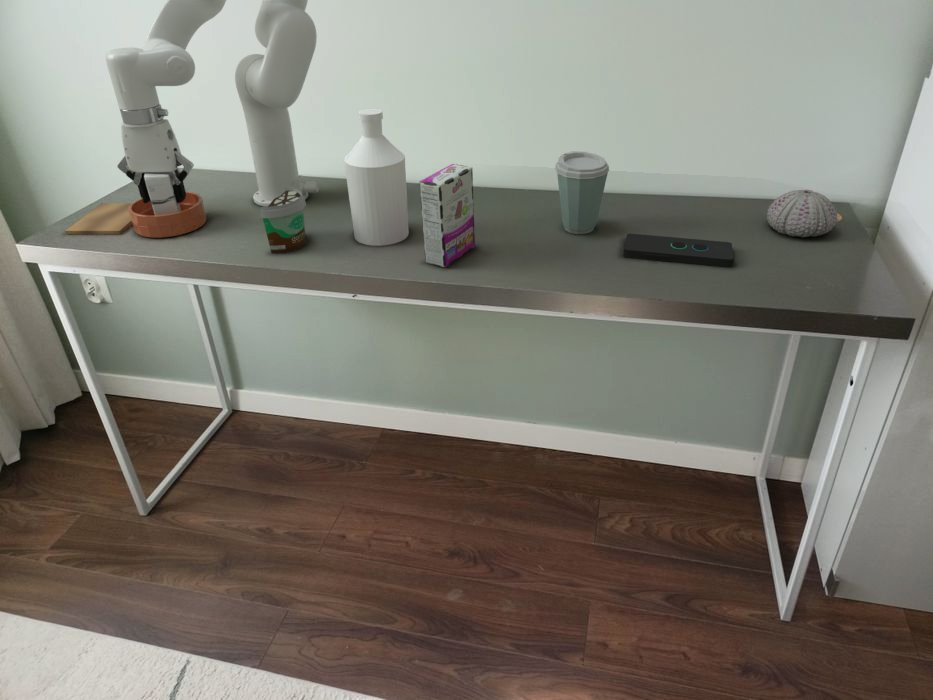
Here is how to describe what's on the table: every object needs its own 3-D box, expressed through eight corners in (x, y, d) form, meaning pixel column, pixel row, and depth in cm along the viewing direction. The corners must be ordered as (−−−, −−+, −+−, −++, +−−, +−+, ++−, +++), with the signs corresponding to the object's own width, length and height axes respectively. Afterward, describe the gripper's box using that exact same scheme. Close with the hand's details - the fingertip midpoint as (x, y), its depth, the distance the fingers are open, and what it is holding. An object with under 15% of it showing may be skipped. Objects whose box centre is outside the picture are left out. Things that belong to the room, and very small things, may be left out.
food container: (297, 258, 137) (289, 209, 131) (268, 256, 138) (258, 208, 132) (320, 233, 147) (313, 187, 141) (293, 231, 148) (285, 185, 142)
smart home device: (733, 259, 128) (623, 249, 133) (732, 267, 129) (622, 257, 134) (732, 241, 135) (627, 232, 140) (730, 249, 136) (626, 240, 141)
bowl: (216, 212, 158) (211, 191, 155) (191, 238, 146) (185, 216, 143) (152, 212, 159) (146, 191, 156) (122, 238, 146) (115, 216, 144)
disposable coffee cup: (613, 227, 146) (620, 156, 138) (584, 243, 140) (589, 170, 131) (572, 215, 152) (576, 146, 144) (542, 230, 146) (544, 159, 138)
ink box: (183, 229, 149) (169, 175, 143) (158, 232, 148) (143, 178, 142) (182, 215, 156) (169, 163, 150) (159, 218, 155) (144, 166, 148)
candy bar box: (454, 242, 142) (452, 162, 133) (475, 247, 139) (474, 166, 130) (423, 263, 134) (417, 180, 125) (444, 269, 131) (441, 184, 122)
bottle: (379, 251, 139) (366, 123, 125) (341, 235, 145) (325, 113, 132) (421, 233, 146) (414, 110, 132) (383, 219, 153) (373, 100, 139)
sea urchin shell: (760, 236, 141) (768, 198, 137) (767, 212, 151) (775, 176, 147) (832, 246, 136) (843, 207, 132) (834, 222, 146) (844, 185, 142)
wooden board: (152, 206, 162) (151, 203, 161) (120, 234, 148) (119, 230, 148) (102, 206, 163) (101, 203, 162) (66, 234, 149) (64, 230, 149)
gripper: (191, 110, 142) (210, 194, 152) (109, 110, 143) (133, 194, 153) (177, 120, 136) (198, 207, 146) (90, 120, 137) (117, 207, 146)
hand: (164, 200), depth 149 cm, fingers closed on ink box, 6 cm apart
